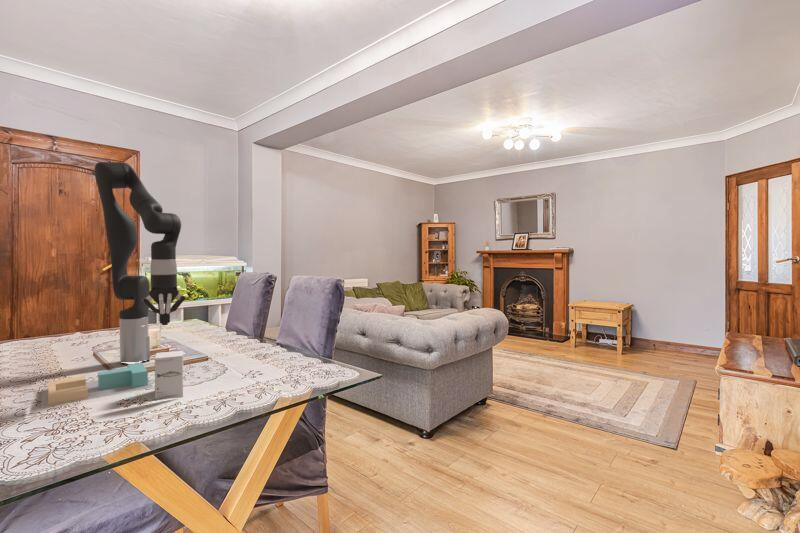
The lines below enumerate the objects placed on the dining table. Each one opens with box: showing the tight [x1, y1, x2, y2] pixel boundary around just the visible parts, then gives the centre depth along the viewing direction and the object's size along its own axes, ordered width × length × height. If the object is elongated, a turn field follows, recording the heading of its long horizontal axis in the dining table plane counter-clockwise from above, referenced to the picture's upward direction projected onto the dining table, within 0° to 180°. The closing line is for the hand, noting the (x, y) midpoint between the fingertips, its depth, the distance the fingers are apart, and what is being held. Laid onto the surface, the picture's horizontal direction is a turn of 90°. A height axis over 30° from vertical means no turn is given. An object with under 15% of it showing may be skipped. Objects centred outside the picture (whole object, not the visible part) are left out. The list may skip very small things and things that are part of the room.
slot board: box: [40, 375, 154, 409], centre depth 122 cm, size 26×18×4 cm
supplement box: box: [154, 350, 184, 402], centre depth 120 cm, size 7×7×13 cm
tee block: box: [97, 362, 149, 390], centre depth 126 cm, size 12×12×4 cm
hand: (164, 324), depth 133 cm, fingers closed
